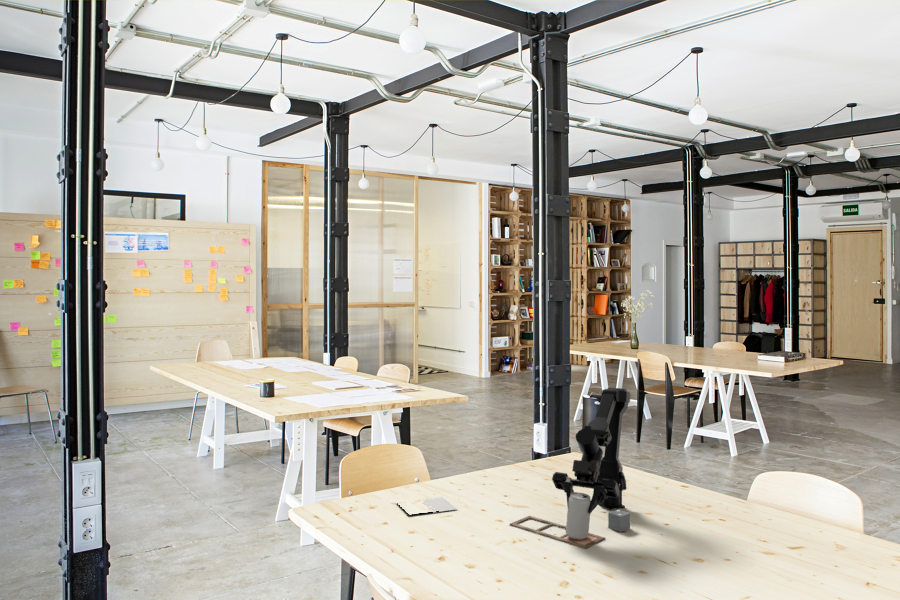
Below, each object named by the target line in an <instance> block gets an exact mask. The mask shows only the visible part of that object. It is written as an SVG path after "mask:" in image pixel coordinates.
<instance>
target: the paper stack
mask: <svg viewBox="0 0 900 600" xmlns="http://www.w3.org/2000/svg"><path fill="white" fill-rule="evenodd" d="M423 500H424V501H423V502H424V503H422V504H424V505H428V506H427V507H429V506H432V507H431V508H428V509H429V510H431V509H432V510H431V511H432V512H433V513H437V512H436V511H439V513H441V512H447V511H454V510H455V511H456V510H458V508H457V507H456V506H454V505H453V504H452V503H450V502H449V501H448V500H447V499H446V498H444V497H443V496H438V497H432V498H429V497H428V498H423ZM427 503H429V504H427ZM434 508H435V509H434Z"/></svg>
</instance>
